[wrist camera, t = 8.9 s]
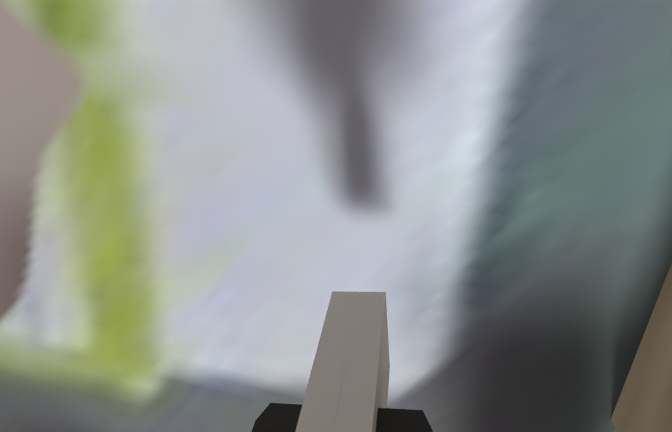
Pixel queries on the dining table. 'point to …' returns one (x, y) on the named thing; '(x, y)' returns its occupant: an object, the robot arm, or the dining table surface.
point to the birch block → (650, 374)
